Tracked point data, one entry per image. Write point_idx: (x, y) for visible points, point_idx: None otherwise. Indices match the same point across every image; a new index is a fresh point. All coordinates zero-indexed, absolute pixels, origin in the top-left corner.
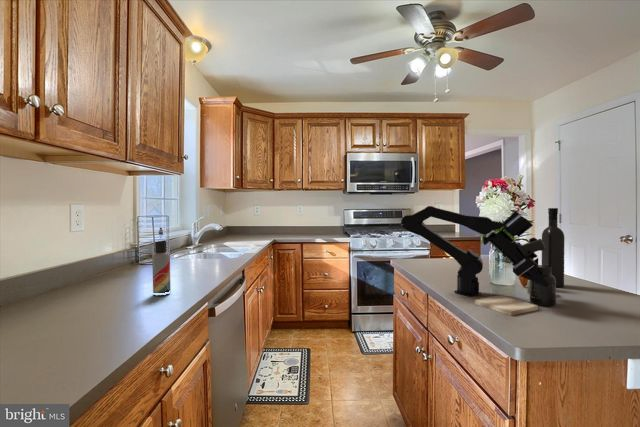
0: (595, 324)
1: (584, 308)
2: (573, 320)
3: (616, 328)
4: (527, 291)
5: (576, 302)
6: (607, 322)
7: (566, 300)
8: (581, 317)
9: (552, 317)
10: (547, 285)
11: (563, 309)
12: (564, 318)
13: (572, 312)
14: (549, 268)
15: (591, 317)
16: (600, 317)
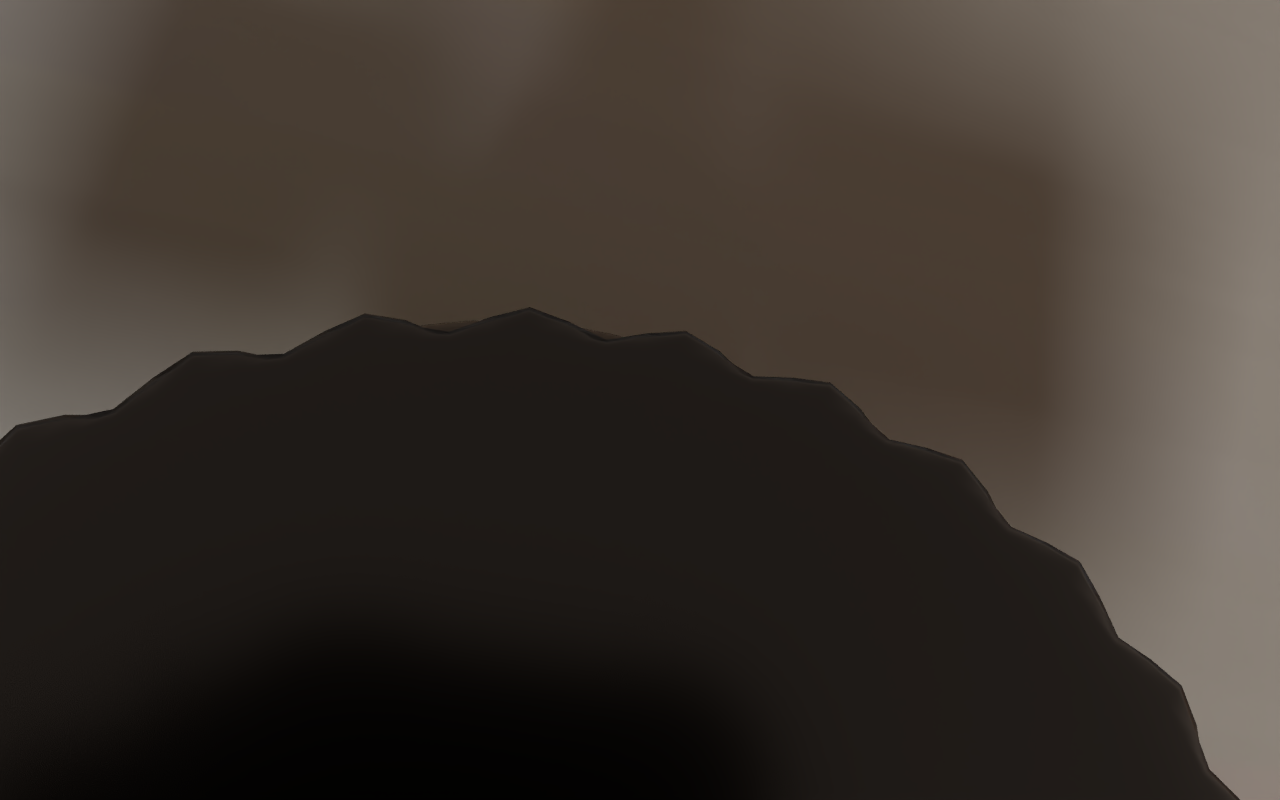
0: (1240, 182)
1: (509, 76)
2: (1228, 393)
3: (1257, 16)
4: None
5: (140, 80)
6: (1078, 24)
7: (45, 205)
8: (1030, 256)
9: (1254, 646)
10: None
11: None
12: (1205, 489)
13: (835, 307)
14: (1048, 568)
15: (959, 132)
16: (898, 25)
